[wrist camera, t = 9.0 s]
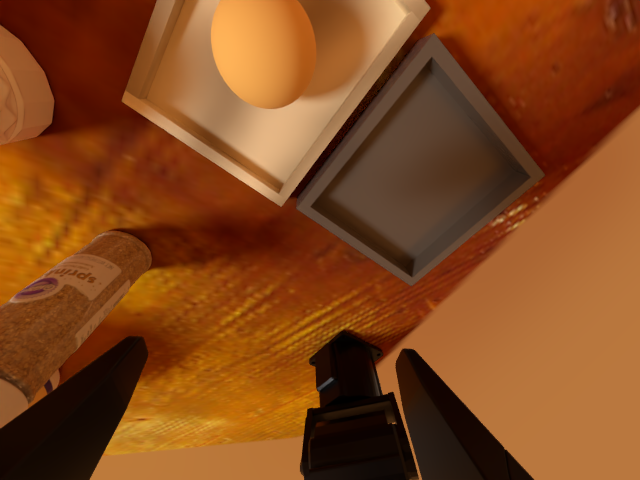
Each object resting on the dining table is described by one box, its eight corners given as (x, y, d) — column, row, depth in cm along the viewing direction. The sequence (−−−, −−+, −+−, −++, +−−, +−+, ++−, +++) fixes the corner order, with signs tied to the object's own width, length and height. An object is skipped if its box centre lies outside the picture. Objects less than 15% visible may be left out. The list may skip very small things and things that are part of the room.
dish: (521, 167, 19) (545, 175, 17) (402, 270, 24) (411, 286, 22) (417, 40, 15) (434, 32, 13) (297, 197, 20) (296, 208, 18)
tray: (419, 15, 14) (430, 7, 13) (282, 199, 20) (281, 206, 18) (249, -202, 10) (242, -242, 9) (136, 100, 16) (121, 101, 14)
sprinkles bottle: (131, 222, 20) (-106, 402, 8) (165, 265, 22) (15, 454, 11) (81, 237, 20) (-208, 428, 9) (120, 278, 23) (-71, 473, 11)
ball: (330, 49, 15) (344, 32, 10) (282, 123, 16) (277, 135, 12) (255, -28, 13) (233, -88, 8) (210, 66, 15) (173, 56, 10)
